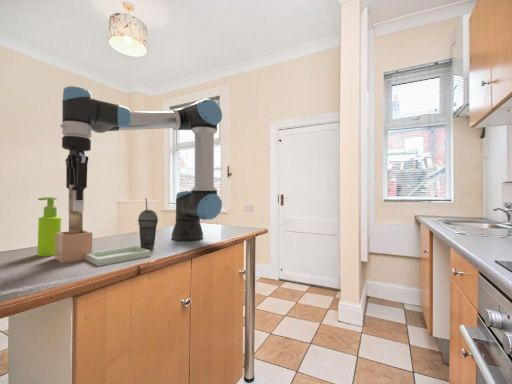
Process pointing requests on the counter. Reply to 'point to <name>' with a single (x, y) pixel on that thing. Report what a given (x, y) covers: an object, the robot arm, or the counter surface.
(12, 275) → the counter surface
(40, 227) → the soap dispenser
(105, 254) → the tray
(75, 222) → the dowel
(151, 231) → the beverage cup
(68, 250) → the pot
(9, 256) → the counter surface
